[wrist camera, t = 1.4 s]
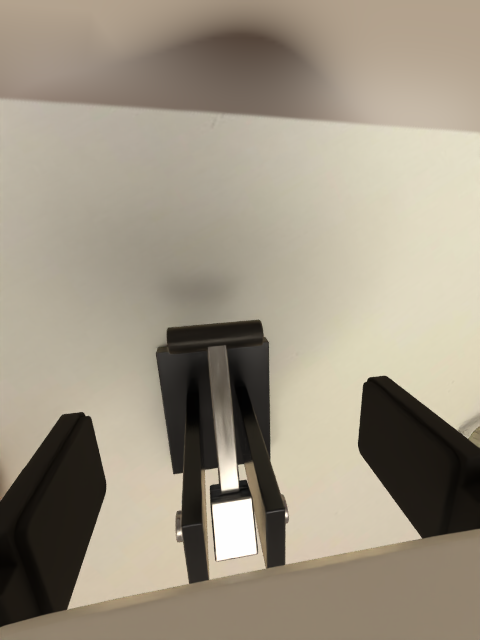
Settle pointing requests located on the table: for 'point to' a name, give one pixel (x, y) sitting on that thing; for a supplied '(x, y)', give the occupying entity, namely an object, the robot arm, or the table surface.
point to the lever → (224, 432)
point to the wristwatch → (475, 437)
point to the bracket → (200, 446)
